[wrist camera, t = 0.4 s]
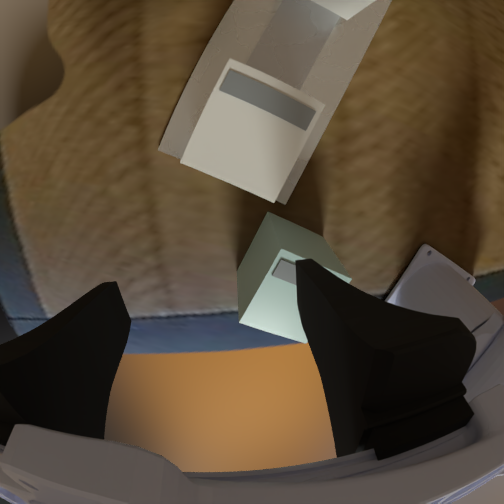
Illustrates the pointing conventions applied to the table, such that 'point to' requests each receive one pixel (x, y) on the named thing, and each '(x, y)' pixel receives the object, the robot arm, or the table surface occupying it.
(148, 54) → the table surface
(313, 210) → the table surface
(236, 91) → the mounted modules
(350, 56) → the rail panel
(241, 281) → the block
